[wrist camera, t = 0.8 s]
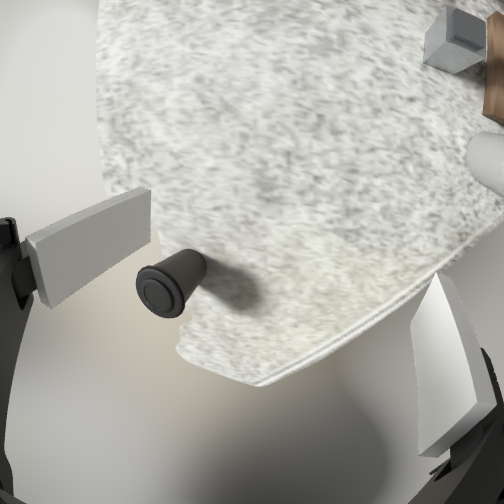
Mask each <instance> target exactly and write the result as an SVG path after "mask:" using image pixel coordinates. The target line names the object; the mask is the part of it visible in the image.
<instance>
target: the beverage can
mask: <svg viewBox="0 0 504 504" xmlns="http://www.w3.org/2000/svg"><path fill="white" fill-rule="evenodd" d="M467 164H468V168H469V170H470V173H471V174H472V176H473V177H474V178H475V179H476V180H477V181H478V182H479V183H481V184H483V185H484V186H486V187H488V188H489V189H491V190H493V191H495V192H496V193H498V194H500V195H501V196H503V197H504V135H503V134H496V133H487V132H484V133H480V134H478V135H476V136H475V137H474V138H473V139H472V140H471V142H470V143H469V146H468V149H467Z"/></svg>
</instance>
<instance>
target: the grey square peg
mask: <svg viewBox="0 0 504 504" xmlns="http://www.w3.org/2000/svg"><path fill="white" fill-rule="evenodd" d="M484 59H486V22H485V21H483V20H481V19H479V18H477V17H475V16H473V15H471V14H468V13H466V12H464V11H461V10H459V9H457V8H456V9H455V8H452V7H450V6H447V5H446V6H445V8H444V9H443V10H442V12H441V13H440V15H439V16H438V17H437V19H436V20H435V22H434V23H433V24H432V26H431V27H430V28H429V30H428V31H427V33H426V34H425V43H424V56H423V63H424V64H427V65H430V66H433V67H435V68H438V69H441V70H443V71H446V72H449V73H451V74H456V73H458V72H460V71H462V70H464V69H466V68H468V67H470V66H472V65H474V64H476V63H478V62H480V61H482V60H484Z"/></svg>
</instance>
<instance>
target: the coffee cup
mask: <svg viewBox="0 0 504 504" xmlns="http://www.w3.org/2000/svg"><path fill="white" fill-rule="evenodd" d="M206 271H207V266H206V262H205V260H204V258H203V257H202V256H201V255H200V254H199V253H198V252H196V251H195V250H192V249H184V250H182V251H180V252H178V253H176V254H174V255H172V256H170V257H168V258H167V259H165V260H163V261H161V262H159V263H157V264H155V265H153V266H146V267H143V268H142V269H141V270H140V271H139V272H138V275H137V278H136V289H137V293H138V295H139V297H140V299H141V301H142V302H143V303H144V305H145V306H146V307H147V308H148V309H149V310H150V311H151V312H153V313H154V314H156V315H158V316H160V317H163V318H175V317H178V316H179V315H180V314H182V312H183V310H184V308H185V303H186V302H187V300H188V299H189V297H190V296H191V294H192V293H193V292H194V290H195V289H196V287H197V286H198V285H199V283H200V282H201V280H202V279H203V277H204V276H205V274H206Z"/></svg>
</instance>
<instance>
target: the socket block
mask: <svg viewBox="0 0 504 504" xmlns="http://www.w3.org/2000/svg"><path fill="white" fill-rule="evenodd" d="M487 37H488V50H487V75H486V88H485V98H484V106H483V114H482V115H484V116H486V117H488V118H490V119H492V120H494V121H496V122H498V123H500V124H502V125H504V15H503V14H501V13H499V12H497V11H496V12H495V13H494V14H492V15H491V16H490V17H488V18H487Z"/></svg>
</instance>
